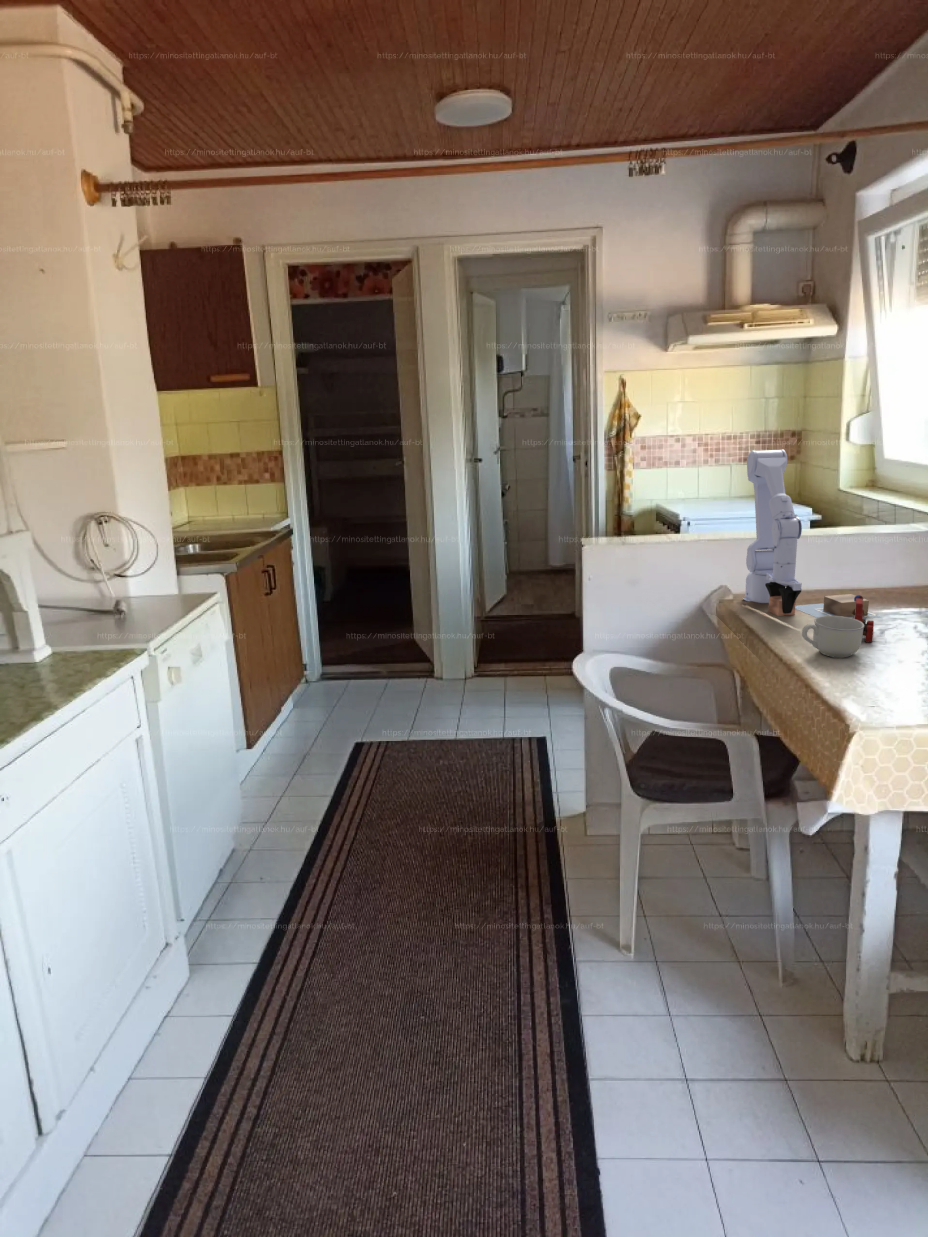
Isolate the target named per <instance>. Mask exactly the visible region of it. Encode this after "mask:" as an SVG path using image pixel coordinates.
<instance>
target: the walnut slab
mask: <svg viewBox="0 0 928 1237" xmlns="http://www.w3.org/2000/svg"><path fill="white" fill-rule="evenodd" d="M855 596H856V595H855V594H851V593H850V594H849V593H847V594H846V593H845V594H835V595H825V596H823V597H824V598H823V599H824V600H823V603H824V608H823V610H824V611H826V612H829V613H831V614H834V615H836V616H843V617H849V616H852V611H853V610H854V609H855V603H856V602H855V601H854V598H855ZM869 604H870V600H869V599H866V598H863V610H864V612H865V615H868V612H869Z"/></svg>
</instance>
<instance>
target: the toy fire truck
mask: <svg viewBox="0 0 928 1237" xmlns="http://www.w3.org/2000/svg"><path fill="white" fill-rule="evenodd" d="M863 599H864V598H863V596H862V595H859V594H857V595H855V598H854V601H855V602H856V603H855V609H854V610H853V611H852V616H853V619H856V620H859V621H861V622H862V623H863V624H864V628H863V635H862V637H863V636H864V637H865V638H864V639H865V643H873V639H874V626H875V625H874V624H875V622H874V620H867V618H866V619H864V618H863V617H864V616H865V612H864V610H863Z"/></svg>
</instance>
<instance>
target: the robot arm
mask: <svg viewBox="0 0 928 1237" xmlns="http://www.w3.org/2000/svg"><path fill="white" fill-rule="evenodd" d="M787 465H788V454H787V452H786V450H785V449H782V448H781V449H772V450H751V451H750V452H749V453H748V456H747V459H746V471H747V472H746V473H747V477H748V478H747V480H748V482H750V483H752V484H753V490H754V491H753V492H754V511H755V512H754V513H755V528H756V530H755V531H756V540H754V541H753V542H751V544H749V545H748V546H747V549H746V551H747V552H746V558H745V559H746V563H745V564H746V568H747V570H748V571H749V573H748V574H747V575H746V579H745V592H744V593H745V594H744V597H746V598H743V597H742V598H743V599H744V601H746V602H754V603H759V604H760V603H761V604H769V597H773V596H781V598H782V610H783V613H784V614H786V613H791V612H792V609H793V606H794V603H795V601H797V599H798V597H799V595H800V594H801V593H802V582H799V580H797V578H796V567H797V566H796V565H797V564H796V563H797V551H798V550H797V549H798V540H799V539H800V537H802V533H803V527H802V526H803V525H802V520H801V517H799V516H798V514H795V509H794V506H793V501H792V497H791V496H789V495H788V494H786V488H785V481H784V473H785V472H786V469H787V467H788V466H787ZM743 599H742V600H743ZM795 604H796V603H795Z"/></svg>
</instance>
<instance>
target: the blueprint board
mask: <svg viewBox="0 0 928 1237" xmlns="http://www.w3.org/2000/svg"><path fill="white" fill-rule="evenodd" d="M823 608H824V602H821V603H810V604H799V605H795V610H798V611H800V612H802V613H804V614H807V615H809V616H812V617H813V618H815V619H816V618H817V617H821V616H836V615H834V614H831V613H829V612H826V611H824V610H823ZM848 618H853V616H849V617H848ZM863 618H864V619H866V620H867V619H875V618H881V615H877V614H875V613H872V612H869V611H868V615H865V616H864V617H863Z"/></svg>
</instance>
